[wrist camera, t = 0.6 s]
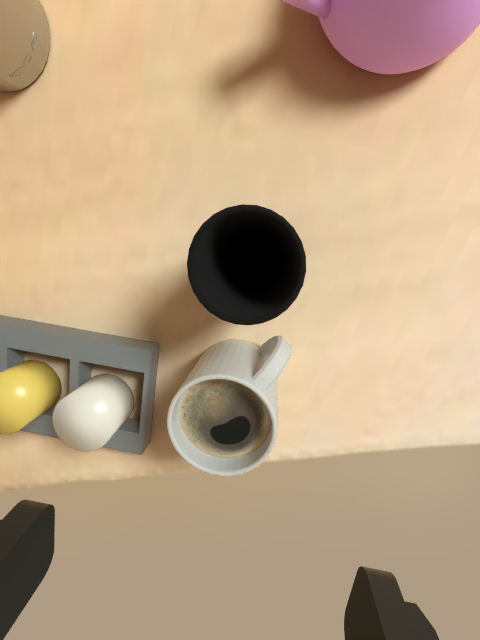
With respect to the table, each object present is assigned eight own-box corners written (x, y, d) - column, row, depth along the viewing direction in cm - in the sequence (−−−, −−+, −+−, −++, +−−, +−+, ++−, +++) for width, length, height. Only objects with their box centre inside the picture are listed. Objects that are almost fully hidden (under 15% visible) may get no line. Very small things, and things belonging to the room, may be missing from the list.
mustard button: (12, 403, 37) (-29, 428, 32) (11, 355, 36) (-31, 373, 31) (60, 413, 36) (27, 439, 32) (62, 364, 35) (27, 384, 30)
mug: (205, 421, 38) (180, 482, 28) (186, 340, 36) (152, 375, 26) (302, 408, 36) (311, 469, 27) (287, 323, 34) (291, 354, 25)
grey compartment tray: (-42, 403, 41) (-63, 413, 38) (-47, 306, 38) (-69, 310, 36) (149, 441, 39) (141, 455, 37) (159, 343, 36) (151, 350, 34)
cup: (275, 309, 34) (274, 344, 23) (206, 278, 34) (170, 296, 23) (309, 238, 32) (327, 235, 21) (237, 205, 32) (214, 183, 21)
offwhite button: (82, 417, 36) (51, 444, 31) (84, 369, 35) (53, 389, 30) (132, 427, 36) (109, 456, 31) (136, 379, 35) (113, 401, 30)
